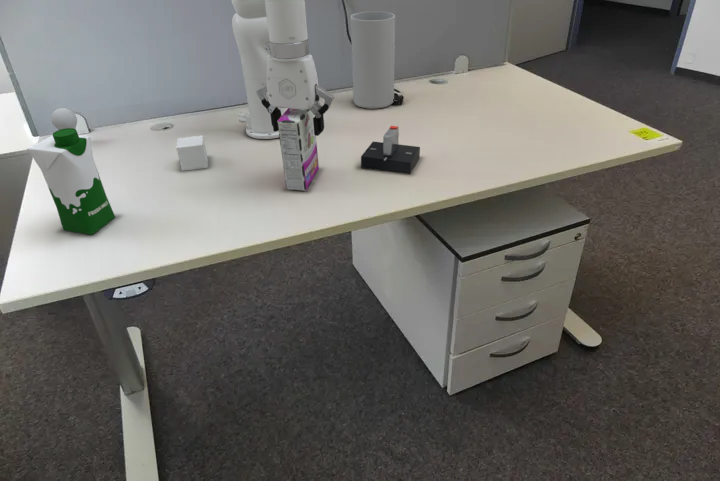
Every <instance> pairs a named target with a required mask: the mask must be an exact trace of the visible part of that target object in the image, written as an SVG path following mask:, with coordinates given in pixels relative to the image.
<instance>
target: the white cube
mask: <svg viewBox="0 0 720 481" xmlns="http://www.w3.org/2000/svg"><path fill="white" fill-rule="evenodd" d="M176 141H177V142H176V147H175V148H176V152H177V157H178V160H179V165H180V169H181V171H182V172H186V171H192V170H201V169H208V152H207V149H206V144H205V140H204V135H201V134H200V135H194V136H184V137H177V139H176Z"/></svg>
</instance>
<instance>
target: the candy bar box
mask: <svg viewBox="0 0 720 481" xmlns="http://www.w3.org/2000/svg"><path fill="white" fill-rule="evenodd" d="M284 111H285V113H284V114H283V115H282V116H281V117H280V118H279V120H278V121H277V124H278V130H279V137H278V138H279V139H278V140H279V145H280V152H281V159H282V166H283V174H284V182H285V189H286V190H287V191H299V192H306V191H307V190H308V189H309V187H310V185H311V184H312V182H313V180H314V178H315V177H316V175H317V173H318V171H319V170H320V167H319V154H318V145H317V144H318V143H317V136H315V135H314V124H313V118H314V117H315V115H314V114H313V113H312V111H311V110H310V109H307V110H302V109H290V108H286V110H284Z"/></svg>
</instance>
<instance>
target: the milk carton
mask: <svg viewBox="0 0 720 481" xmlns="http://www.w3.org/2000/svg"><path fill="white" fill-rule="evenodd" d="M92 145H93V144H92V137H91V135H86V134H85V135H84V134H79V133H78V131H77V128H76V129H73V128H66V129H61V130H58V129H57V130H56V131H54V132H53V133H52V135H51V136H48V137H46V138H44V139H42V140H40V141H39V142H37V143H34V144H33V145H31V146H29V147H27V148H26V150H27V151H28V153H29V154H30V156H31V157H32V159H33V160H34V161H35V163H36V164H37V166H38V167H39V169H40V171H41V173H42V176H43V179H44V181H45V183H46V185H47V189H48V191H49V193H50V195H51V197H52V201H53V202H54V205H55V207H56V211H57V214H58V216H59V221H60V224H61V227H62V230H63V231H66V232H71V233H77V234H84V235H89V236H94V235H95V234H96V233H98V231H100V230H101V229H103V227H105V226H106V225H107V224H109V223H110V222H111V221H113V220H114V219H115V218H116V215H115V212H114V211H113V208H112V206H111V203H110V201H109V199H108V196H107V194H106V190H105V188H104V185H103V182H102V179H101V176H100V172H99V170H98V167H97V165H96V161H95V159H94V155H93V146H92Z"/></svg>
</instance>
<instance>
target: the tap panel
mask: <svg viewBox="0 0 720 481" xmlns="http://www.w3.org/2000/svg"><path fill="white" fill-rule="evenodd" d="M420 153H421V147H420V146H416V145H407V144H400V143H398V148H397V149H396V151H395V152H394V154H393V155H392V157H388V156H383V141H372V142H370V144H369V145H368V147H367V148H366V150H364V152H363V153H362V154H361V155H360V162H361V163H360V165H361V169H366V170H367V169H369V170H375V171H382V172H383V171H385V172H390V173H391V172H392V173H397V174H404V175H405V174H406V175H411V174H412V173H413V170H414V169H415V167H416V165H417V163H418V162H419V160H420V155H421V154H420Z"/></svg>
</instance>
